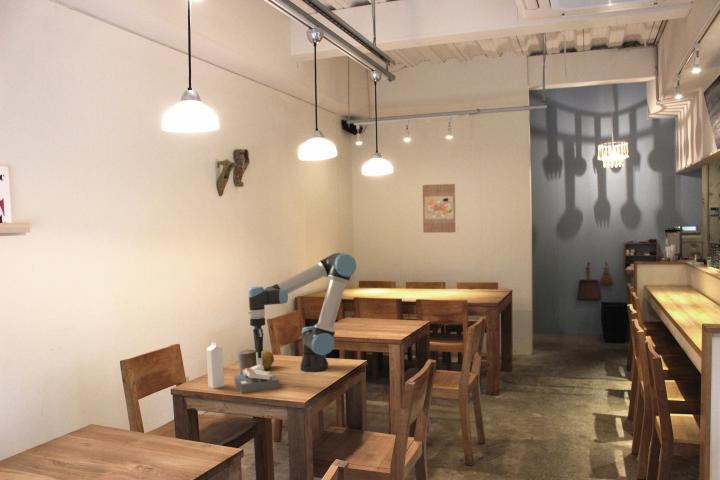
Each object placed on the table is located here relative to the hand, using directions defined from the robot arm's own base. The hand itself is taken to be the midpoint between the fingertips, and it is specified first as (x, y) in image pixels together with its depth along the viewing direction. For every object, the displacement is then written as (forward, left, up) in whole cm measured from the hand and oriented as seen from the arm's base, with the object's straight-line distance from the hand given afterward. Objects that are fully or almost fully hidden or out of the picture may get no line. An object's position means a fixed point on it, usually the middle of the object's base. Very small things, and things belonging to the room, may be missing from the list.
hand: (259, 364), depth 302 cm
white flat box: (+3, +12, -3) cm, 13 cm away
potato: (-9, -28, -9) cm, 31 cm away
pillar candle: (+3, -13, -9) cm, 16 cm away
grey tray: (+3, +6, -9) cm, 12 cm away
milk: (+21, -4, -9) cm, 24 cm away
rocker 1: (+3, 0, -3) cm, 4 cm away
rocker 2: (+3, +6, -3) cm, 8 cm away
